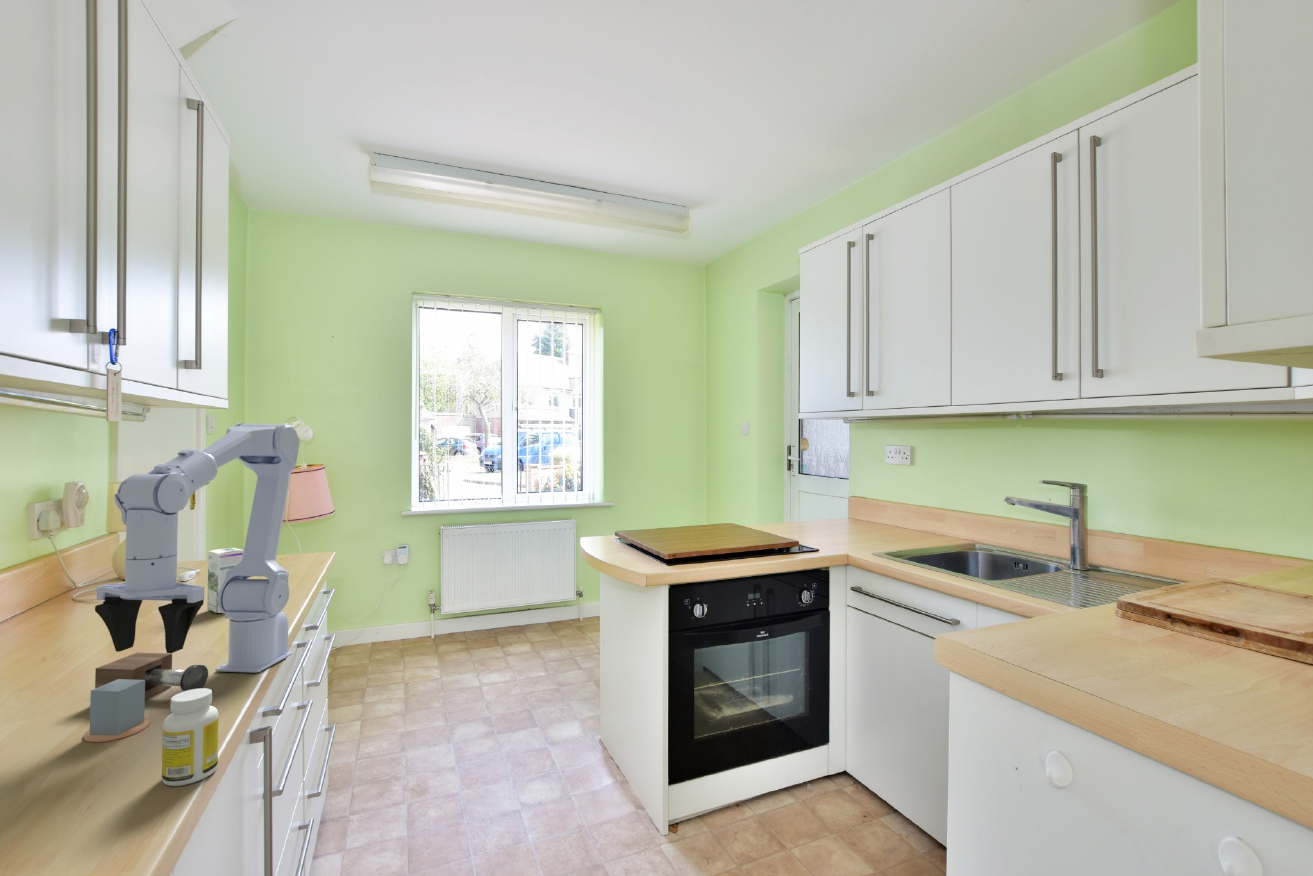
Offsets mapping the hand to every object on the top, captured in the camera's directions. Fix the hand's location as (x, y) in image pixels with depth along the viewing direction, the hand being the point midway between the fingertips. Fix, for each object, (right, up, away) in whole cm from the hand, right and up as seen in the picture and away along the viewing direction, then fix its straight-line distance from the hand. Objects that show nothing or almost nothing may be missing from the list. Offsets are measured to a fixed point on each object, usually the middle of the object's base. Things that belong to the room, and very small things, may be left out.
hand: (149, 650), depth 86 cm
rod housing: (-10, -10, +8) cm, 16 cm away
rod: (-3, -9, +8) cm, 13 cm away
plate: (-2, -10, -3) cm, 11 cm away
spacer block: (-2, -10, -3) cm, 11 cm away
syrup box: (-30, -11, +56) cm, 65 cm away
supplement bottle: (+17, -11, -14) cm, 24 cm away
